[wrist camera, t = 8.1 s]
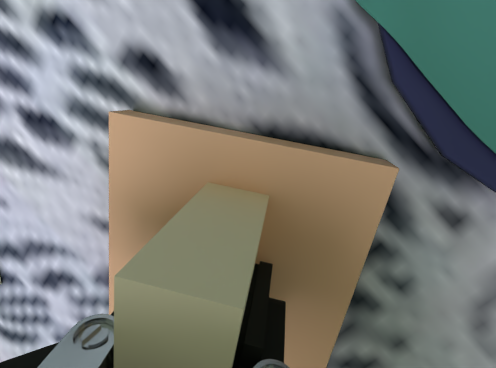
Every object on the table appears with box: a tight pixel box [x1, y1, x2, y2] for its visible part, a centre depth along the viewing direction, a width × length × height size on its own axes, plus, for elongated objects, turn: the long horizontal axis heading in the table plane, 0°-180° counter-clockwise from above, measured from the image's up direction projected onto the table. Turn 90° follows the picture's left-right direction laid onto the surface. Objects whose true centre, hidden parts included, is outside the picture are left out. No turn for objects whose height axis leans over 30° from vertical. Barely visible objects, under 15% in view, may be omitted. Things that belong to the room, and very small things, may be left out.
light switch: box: [109, 110, 399, 368], centre depth 10 cm, size 11×12×7 cm
